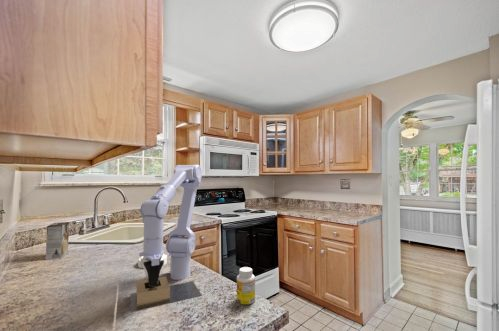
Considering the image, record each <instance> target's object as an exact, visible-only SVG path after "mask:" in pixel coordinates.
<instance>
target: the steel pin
mask: <svg viewBox="0 0 499 331" xmlns="http://www.w3.org/2000/svg"><path fill="white" fill-rule="evenodd" d="M148 261H151V260H149V259H147V258H145V257H144V258H142V259H141V264H143V265H144V262H148ZM144 273H145V277H146V280H147V282H148V287H149V288H152V287H157V286H159V282H158V283H157V284H156V285H151V286H150V284H149V280H148V273H147V270H146V268H145V266H144Z"/></svg>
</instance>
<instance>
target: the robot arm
mask: <svg viewBox="0 0 499 331" xmlns="http://www.w3.org/2000/svg"><path fill="white" fill-rule="evenodd" d="M202 176H203V170H202V168H201V165H199V164H185V165H184V164H177V165H175V167H174V168H173V174H172V176H171V177H170V179H169V180H168V182H167V183H166V184H161V185H160V186H159V188H158V190H157V191H156V192H154V194H153V195H152V196H151V197H150V198H149V199H146V200H144V201H143V202H142V204H140V209H139V214H140V216H141V220H142V223H143V248H142V249H143V251H142V252H139V254H138V256H139V258H140V257H142V256H143V258H144V257H145V258H147V259H149V260H151V261H148V262H144V266H145V268H146V270H147V273H148V280H149V284H150V286H151V285H156V284H157V283H158V279H159V277H160V273H161V270H162V268H163V266H164V265H163V264H164V260H161V258H162V255H163V254H165V253H164V252H165V251H164V220H165V219H164V217H165V216H166V215H167V214H168V212H169V211H168V209H169V207H170V203H171V202H172V201H173V199H174V198H175V196H176V190H177V188H178V187H179V186H180V187H182V188H183V194H182V200H181V204H180V210H179V214H178V219H177V225H176V227H175V228H174V229H173V230H172V231H170V232H169V236H168V238H167V240H166V243H165V249H166V252H167V254H168V256H170V263H169V264H170V265H169V266H170V268H169V269H170V270H169V273H170V279H171V280H173V281H174V280H175V281H181V280H185V279H188V278H189V277H191V255H192V254H193V252H195V249H196V233H194V231H193V230H192V229H191V224H192V219H193V214H194V208H195V202H196V197H197V190H198V188H199V187H201V182H202ZM160 260H161V261H160Z"/></svg>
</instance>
